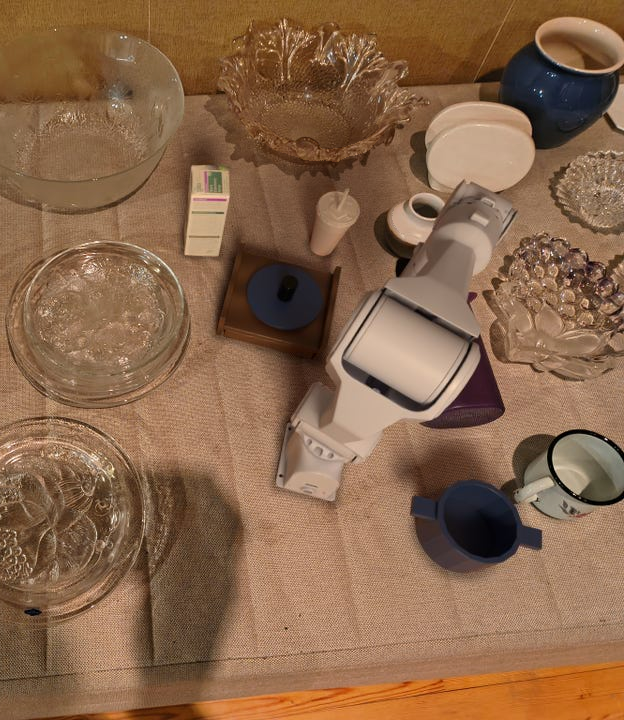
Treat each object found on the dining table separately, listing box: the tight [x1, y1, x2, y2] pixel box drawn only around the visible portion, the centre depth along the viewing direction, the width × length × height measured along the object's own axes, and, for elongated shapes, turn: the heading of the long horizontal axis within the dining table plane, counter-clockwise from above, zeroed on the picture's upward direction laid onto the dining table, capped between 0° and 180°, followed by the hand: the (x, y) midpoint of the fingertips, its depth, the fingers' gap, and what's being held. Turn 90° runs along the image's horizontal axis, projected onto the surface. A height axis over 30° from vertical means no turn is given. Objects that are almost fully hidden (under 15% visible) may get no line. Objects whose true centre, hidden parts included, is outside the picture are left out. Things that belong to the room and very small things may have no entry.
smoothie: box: [309, 188, 361, 257], centre depth 101 cm, size 6×6×14 cm
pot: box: [409, 478, 543, 574], centre depth 84 cm, size 10×16×7 cm, turn 74°
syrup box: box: [183, 164, 231, 257], centre depth 101 cm, size 6×6×14 cm
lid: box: [247, 265, 322, 330], centre depth 97 cm, size 11×11×5 cm
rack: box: [215, 241, 342, 362], centre depth 99 cm, size 14×16×5 cm
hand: (394, 327), depth 89 cm, fingers open, 7 cm apart
